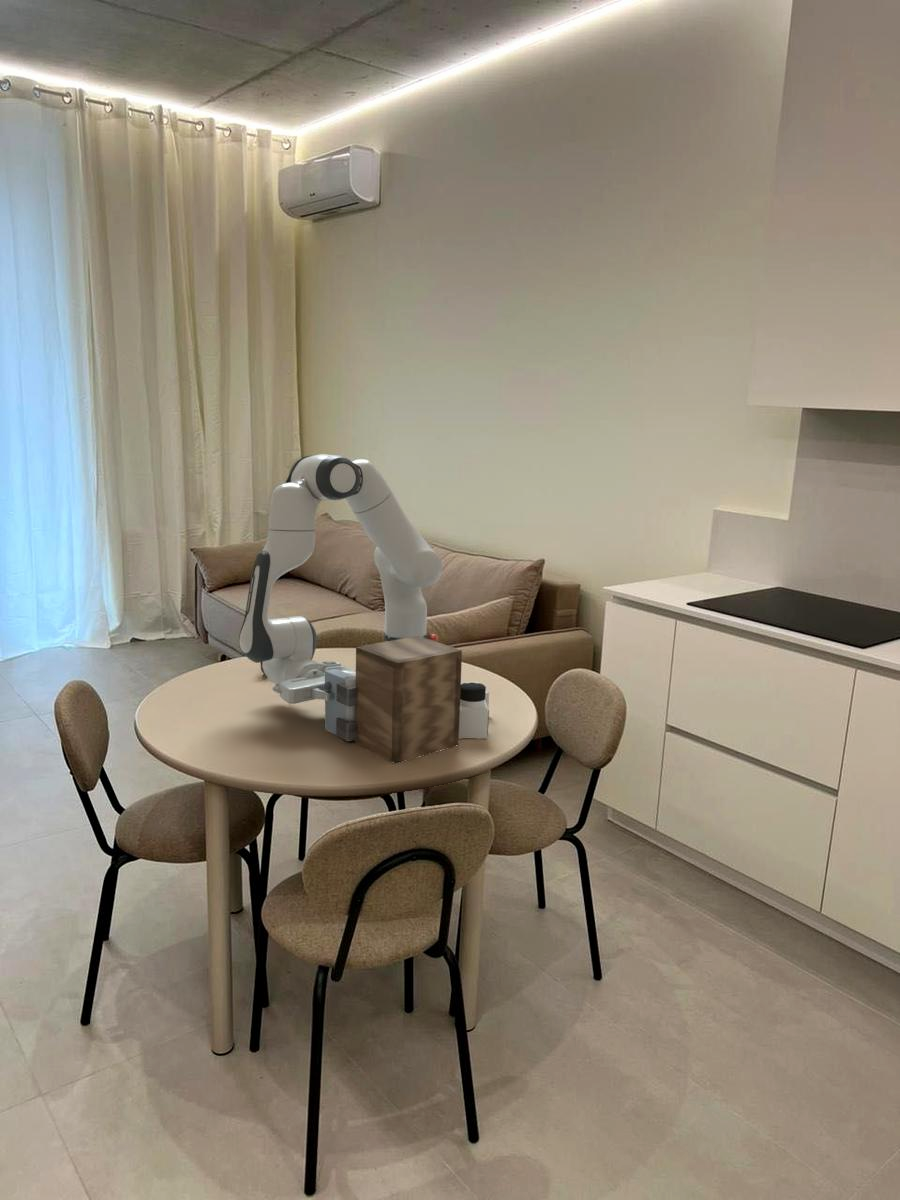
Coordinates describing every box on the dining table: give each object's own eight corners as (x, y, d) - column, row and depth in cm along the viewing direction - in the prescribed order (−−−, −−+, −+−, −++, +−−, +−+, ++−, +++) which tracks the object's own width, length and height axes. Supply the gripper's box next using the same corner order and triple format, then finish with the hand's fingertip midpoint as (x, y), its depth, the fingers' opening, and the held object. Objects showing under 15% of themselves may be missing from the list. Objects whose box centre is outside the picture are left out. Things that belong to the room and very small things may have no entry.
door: (320, 730, 205) (319, 671, 203) (336, 726, 208) (335, 668, 205) (345, 742, 198) (344, 681, 195) (361, 738, 201) (360, 678, 198)
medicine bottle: (487, 739, 203) (490, 689, 201) (456, 739, 203) (458, 688, 200) (484, 728, 210) (486, 679, 208) (454, 728, 210) (455, 679, 207)
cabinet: (406, 721, 213) (408, 632, 208) (458, 745, 199) (462, 650, 194) (336, 739, 200) (336, 644, 196) (386, 766, 186) (388, 664, 182)
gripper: (268, 674, 206) (300, 689, 195) (343, 660, 219) (376, 674, 208) (269, 700, 207) (300, 717, 197) (342, 684, 220) (375, 699, 210)
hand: (340, 694), depth 203 cm, fingers open, 4 cm apart
